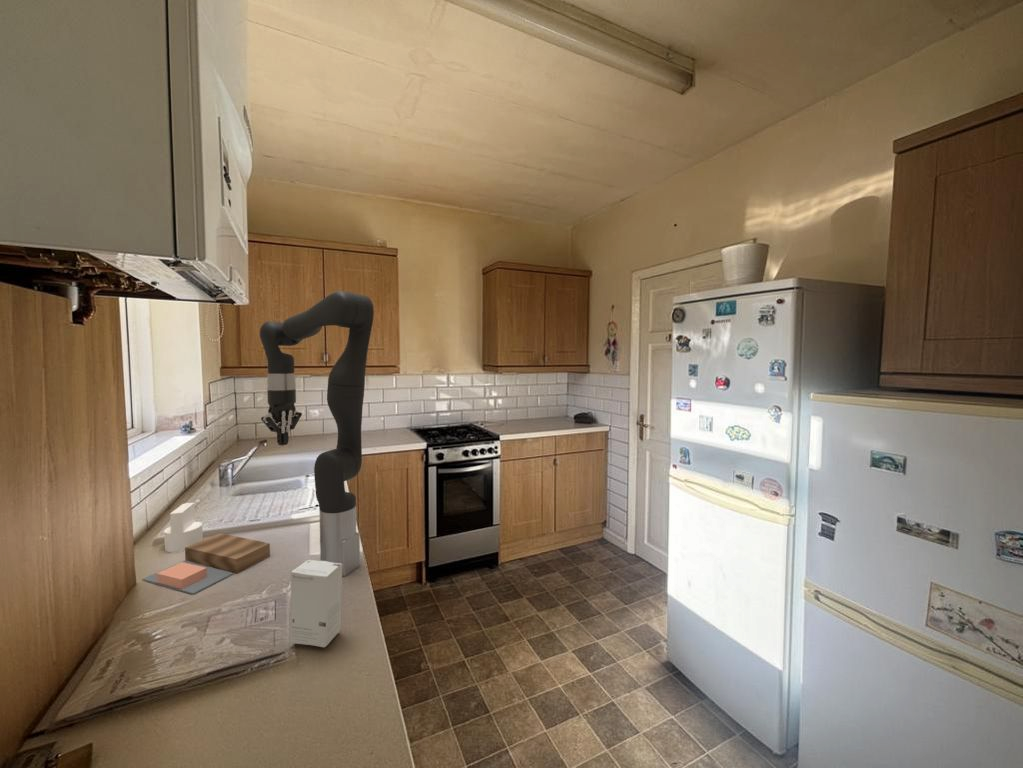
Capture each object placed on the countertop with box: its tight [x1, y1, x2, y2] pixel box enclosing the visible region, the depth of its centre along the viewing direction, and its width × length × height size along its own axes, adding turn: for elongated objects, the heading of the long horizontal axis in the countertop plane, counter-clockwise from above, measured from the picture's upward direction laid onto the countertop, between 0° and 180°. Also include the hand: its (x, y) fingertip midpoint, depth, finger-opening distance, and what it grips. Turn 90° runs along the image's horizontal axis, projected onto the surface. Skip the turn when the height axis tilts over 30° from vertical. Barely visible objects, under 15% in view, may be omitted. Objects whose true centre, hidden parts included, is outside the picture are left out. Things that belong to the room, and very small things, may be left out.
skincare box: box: [288, 559, 343, 648], centre depth 84 cm, size 8×6×15 cm
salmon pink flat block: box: [156, 561, 207, 589], centre depth 104 cm, size 9×6×2 cm, turn 72°
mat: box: [142, 560, 234, 596], centre depth 106 cm, size 19×10×1 cm, turn 71°
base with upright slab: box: [163, 502, 204, 553], centre depth 123 cm, size 9×9×12 cm
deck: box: [184, 533, 271, 575], centre depth 116 cm, size 20×10×4 cm, turn 71°
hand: (283, 444), depth 124 cm, fingers closed
